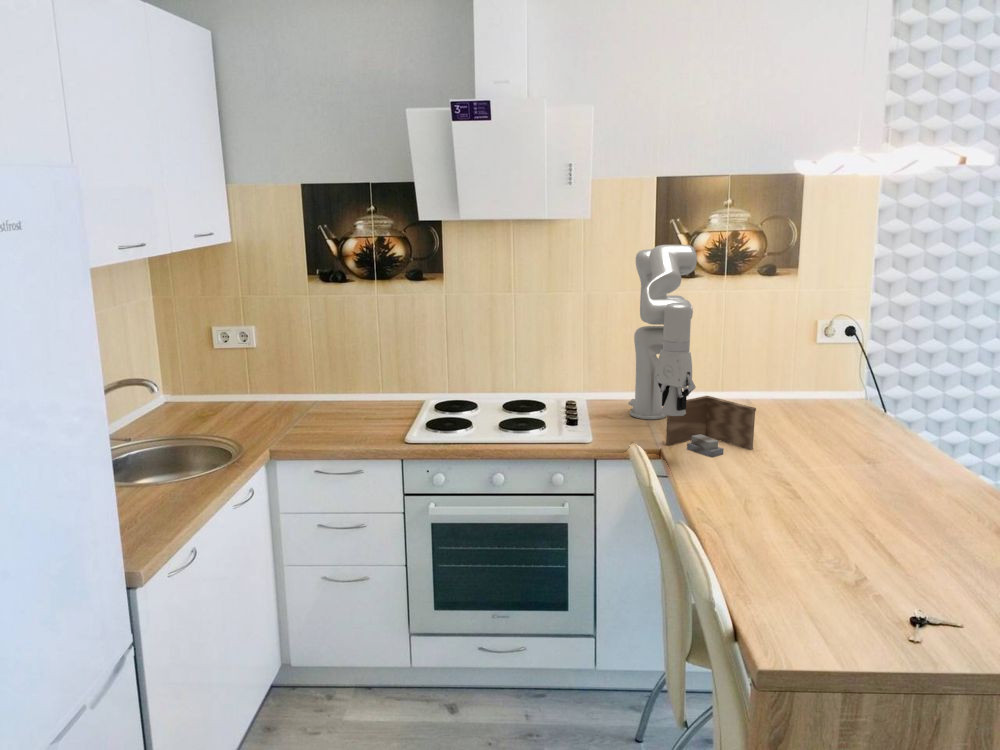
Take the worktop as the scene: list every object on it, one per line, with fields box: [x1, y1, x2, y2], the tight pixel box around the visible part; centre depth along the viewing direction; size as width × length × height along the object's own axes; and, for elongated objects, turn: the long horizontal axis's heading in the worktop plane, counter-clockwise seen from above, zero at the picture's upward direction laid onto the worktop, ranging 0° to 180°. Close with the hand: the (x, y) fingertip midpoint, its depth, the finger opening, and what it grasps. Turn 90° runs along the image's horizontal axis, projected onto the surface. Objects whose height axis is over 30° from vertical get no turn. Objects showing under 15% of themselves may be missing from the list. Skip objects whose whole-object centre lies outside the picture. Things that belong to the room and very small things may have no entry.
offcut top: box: [690, 434, 719, 450], centre depth 260 cm, size 8×4×2 cm, turn 27°
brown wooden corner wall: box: [665, 395, 757, 451], centre depth 264 cm, size 19×18×13 cm
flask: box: [661, 386, 686, 416], centre depth 248 cm, size 7×7×10 cm
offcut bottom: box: [686, 442, 724, 458], centre depth 260 cm, size 10×5×2 cm, turn 36°
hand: (673, 407), depth 249 cm, fingers closed on flask, 5 cm apart
